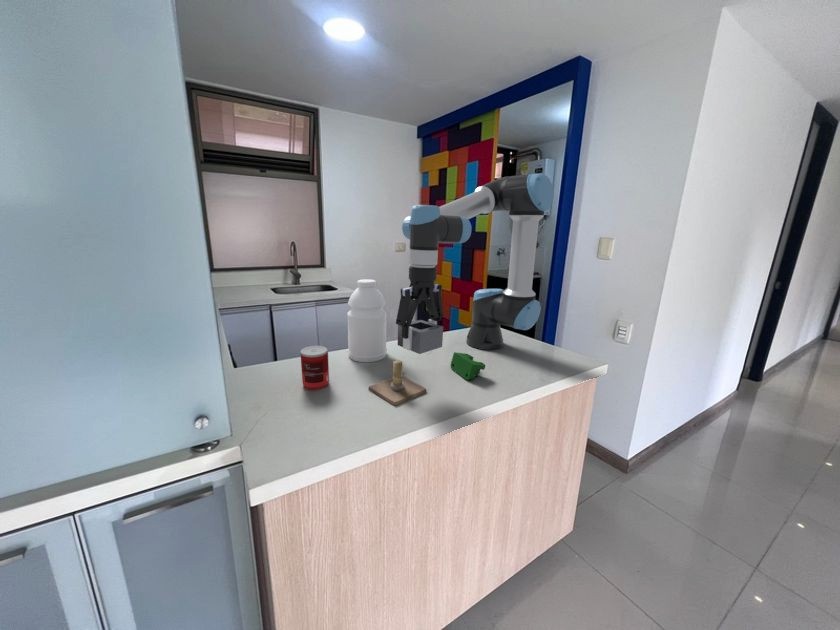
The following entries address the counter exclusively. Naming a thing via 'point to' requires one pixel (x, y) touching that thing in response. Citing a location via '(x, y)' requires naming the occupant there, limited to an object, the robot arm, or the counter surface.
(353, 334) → the bottle
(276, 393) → the counter surface
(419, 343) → the ring
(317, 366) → the canned food
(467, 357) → the clamp
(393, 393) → the post
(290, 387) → the counter surface
